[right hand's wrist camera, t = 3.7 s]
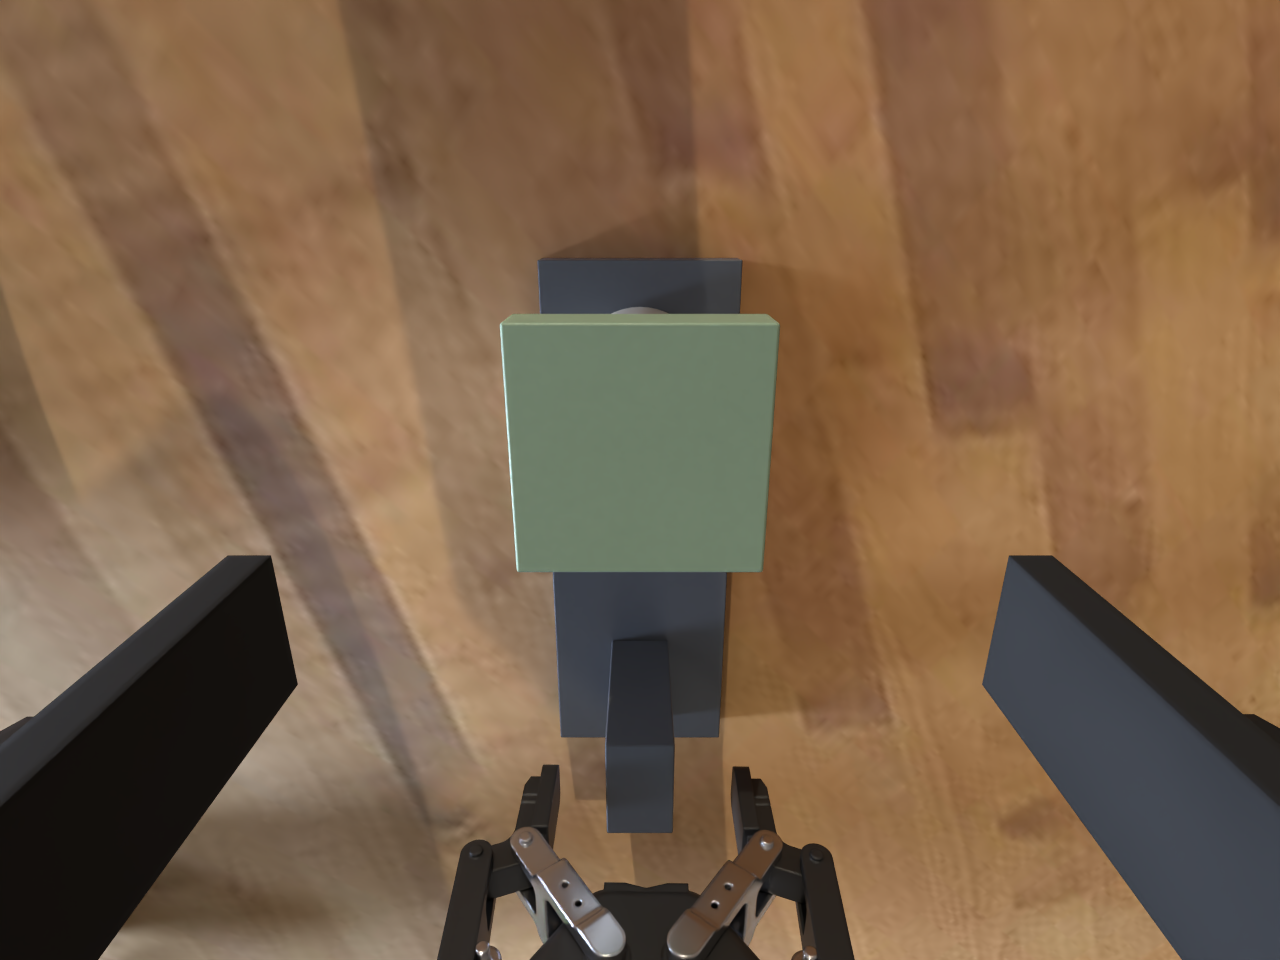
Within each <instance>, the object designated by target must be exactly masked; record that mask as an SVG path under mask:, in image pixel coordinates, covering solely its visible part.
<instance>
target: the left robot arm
mask: <svg viewBox="0 0 1280 960" xmlns="http://www.w3.org/2000/svg"><path fill="white" fill-rule="evenodd" d="M559 804H560V773H559V765H543V767H542V772H541V777H535V776H531V777H530V779H529V780H528V781H527V783H526V784H525V787H524V791H523V796H522V801H521V805H520V810H519V815H518V819H517V824H516V828H515V831H514V833H513V834H512V836H511V837H510V838H509V839H507V840H506V841H504V842H502V843H499V844H495V845H492V846H491V845H490V843H489V842H487V841H485V840H474V841H471V842H469V843H468V844H466V845H465V846H464V847H463V849H462V851H461V854H460V858H459V863H458V867H457V872H456V876H455V881H454V885H453V890H452V895H451V899H450V904H449V908H448V913H447V917H446V922H445V926H444V931H443V935H442V940H441V945H440V949H439V954H438V958H437V960H502V958H501V954H500V952H499V950H498V949H497V948H495V947H493V946H490V945H489V941H490V935H491V928H492V922H493V915H494V909H495V902H496V898H497V897H500V896H504V895H507V894H511V893H514V892H516V894H517V895H518V897H519V898H520V900H521V901H522V903H523V905H524V906H525V908H526V909H527V911H528V912H529V914H530V915H531V917H532V919H533V920H534V922H535V924H536V927H537V930H538V934H539V936H540V939H541V941H542V943H543V945H542V946H541V948H540V949H539V950H538V951H537V952H536V953H535V954H534V955H533V956H532V958H531V959H530V960H759V958H758V957H757V956H756V955H755V954H754V953H753V952H752V950H751V949H750V948H749V947H748V946H749V944H750V942H751V940H752V937H753V934H754V931H755V928H756V926H757V924H758V923H759V921H760V920H761V918H762V917H763V915H764V914H765V912H766V911H767V909H768V907H769V906H770V904H771V903H772V901H773V900H774V898H775V897H776V895H777V896H780V897H783V898H786V899H789V900H792V901H795V902H796V908H797V915H798V922H799V928H800V935H801V942H802V949H803V950H801V951H798V952H796V953H795V954H794V955H793V957H792V959H791V960H855V959H854V955H853V950H852V946H851V941H850V936H849V932H848V927H847V922H846V918H845V913H844V909H843V904H842V899H841V895H840V890H839V885H838V881H837V876H836V871H835V867H834V862H833V858H832V855H831V853H830V852H829V850H828V849H826V848H825V847H824V846H822V845H819V844H807V845H805V846H804V847H803V848H802V849H798V848H795V847H792V846H789V845H787V844H785V843H784V842H783V841H782V840H781V838H780V837H779V836H778V835H777V833H776V829H775V824H774V819H773V815H772V810H771V806H770V800H769V795H768V791H767V787H766V786H765V784H764V783H763V781H762V780H761V779H751V775H750V770H749V767H733V769H732V783H731V807H732V814H733V821H734V828H735V835H736V842H737V849H738V856H737V857H736V859H735V860H734V861H733V862H732V861H730V860H728V861H727V862H726V863H725V864H724V865H723V867H722V868H721V869H720V870H719V872H718V873H717V874H716V876H715V877H714V878H713V880H712V881H711V882H710V883H709V885H708V886H707V887H706V889H705V890H704V891H703V893H702V894H701V895H699V894H697V893H694V892H691V891H689V890H688V884H680V883H667V884H662V885H658V886H653V887H649V888H644V887H640V886H636V885H632V884H628V883H609V882H604V890H600V891H597V892H595V893H593V894H592V893H591V891H590V890H589V889H588V887H587V886H586V885H585V883H584V882H583V881H582V879H581V878H580V877H579V875H578V874H577V873H576V871H575V870H574V869H573V867H572V866H571V865H570V863H569V862H568V861H567V860H566V859H565V858H562V859H559V858H558V856H557V855H556V854H555V852H554V851H553V845H554V838H555V832H556V825H557V818H558V811H559Z"/></svg>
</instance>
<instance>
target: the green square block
mask: <svg viewBox="0 0 1280 960" xmlns="http://www.w3.org/2000/svg"><path fill="white" fill-rule="evenodd" d="M779 334H780V324H779V323H778V322H777V321H776V320H774V319H773V318H772V317H770V316H769V315H768V314H512V315H511V316H509V317H508V318H507V319H506V320H504V321H503V322H502V323H501V324H500V335H501V349H502V364H503V378H504V393H505V407H506V421H507V436H508V450H509V464H510V479H511V493H512V508H513V522H514V536H515V551H516V565H517V571H518V572H762V570H763V563H764V548H765V534H766V520H767V505H768V491H769V477H770V462H771V448H772V434H773V419H774V405H775V391H776V377H777V362H778V348H779Z"/></svg>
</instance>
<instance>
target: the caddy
mask: <svg viewBox="0 0 1280 960" xmlns="http://www.w3.org/2000/svg"><path fill="white" fill-rule="evenodd" d="M741 279H742V260H740V259H738V258H542V259H540V260H538V281H539V301H540V314H740V300H741ZM726 582H727V572H553V586H554V606H555V626H556V647H557V667H558V687H559V708H560V728H561V737H606V740H605V763H606V809H607V832H608V833H672V832H673V798H674V753H675V743H674V737H719V724H720V703H721V683H722V663H723V643H724V623H725V603H726Z"/></svg>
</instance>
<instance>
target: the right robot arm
mask: <svg viewBox="0 0 1280 960" xmlns="http://www.w3.org/2000/svg"><path fill="white" fill-rule="evenodd" d="M297 685H298V683H297V679H296V674H295V669H294V664H293V659H292V655H291V650H290V645H289V640H288V635H287V630H286V626H285V621H284V616H283V611H282V606H281V602H280V597H279V592H278V587H277V582H276V578H275V573H274V568H273V563H272V558H271V556H227V557H226V558H224V559H223V560H222V561H221V562H219V563H218V564H217V565H216V566H215V567H213V568H212V569H211V570H210V571H209V572H207V573H206V574H205V575H204V576H203V577H201V578H200V579H199V580H198V581H197V582H195V583H194V584H193V585H192V586H191V587H189V588H188V589H187V590H186V591H185V592H183V593H182V594H181V595H180V596H179V597H177V598H176V599H175V600H174V601H173V602H171V603H170V604H169V605H168V606H167V607H165V608H164V609H163V610H162V611H161V612H159V613H158V614H157V615H156V616H155V617H153V618H152V619H151V620H150V621H149V622H147V623H146V624H145V625H144V626H143V627H141V628H140V629H139V630H138V631H137V632H135V633H134V634H133V635H132V636H131V637H129V638H128V639H127V640H126V641H125V642H123V643H122V644H121V645H120V646H119V647H117V648H116V649H115V650H114V651H112V652H111V653H110V654H109V655H108V656H106V657H105V658H104V659H103V660H102V661H100V662H99V663H98V664H97V665H96V666H94V667H93V668H92V669H91V670H90V671H88V672H87V673H86V674H85V675H84V676H82V677H81V678H80V679H79V680H78V681H76V682H75V683H74V684H73V685H72V686H70V687H69V688H68V689H67V690H66V691H64V692H63V693H62V694H61V695H60V696H58V697H57V698H56V699H55V700H54V701H52V702H51V703H50V704H49V705H48V706H46V707H45V708H44V709H43V710H42V711H40V712H39V713H38V714H37V715H36V716H34V717H26V718H24V719H22V720H20V721H18V722H16V723H15V724H13V725H11V726H9V727H7V728H6V729H4V730H2V731H0V960H98V959H99V958H100V956H101V955H102V954H103V952H104V951H105V949H106V948H107V947H108V945H109V944H110V943H111V941H112V940H113V938H114V937H115V936H116V934H117V933H118V932H119V930H120V929H121V927H122V926H123V925H124V923H125V922H126V920H127V919H128V918H129V916H130V915H131V914H132V912H133V911H134V909H135V908H136V907H137V905H138V904H139V903H140V901H141V900H142V898H143V897H144V896H145V894H146V893H147V892H148V890H149V889H150V887H151V886H152V885H153V883H154V882H155V881H156V879H157V878H158V876H159V875H160V874H161V872H162V871H163V869H164V868H165V867H166V865H167V864H168V863H169V861H170V860H171V858H172V857H173V856H174V854H175V853H176V852H177V850H178V849H179V847H180V846H181V845H182V843H183V842H184V841H185V839H186V838H187V836H188V835H189V834H190V832H191V831H192V830H193V828H194V827H195V825H196V824H197V823H198V821H199V820H200V818H201V817H202V816H203V814H204V813H205V812H206V810H207V809H208V807H209V806H210V805H211V803H212V802H213V801H214V799H215V798H216V796H217V795H218V794H219V792H220V791H221V790H222V788H223V787H224V785H225V784H226V783H227V781H228V780H229V779H230V777H231V776H232V774H233V773H234V772H235V770H236V769H237V767H238V766H239V765H240V763H241V762H242V761H243V759H244V758H245V756H246V755H247V754H248V752H249V751H250V750H251V748H252V747H253V745H254V744H255V743H256V741H257V740H258V739H259V737H260V736H261V734H262V733H263V732H264V730H265V729H266V728H267V726H268V725H269V723H270V722H271V721H272V719H273V718H274V716H275V715H276V714H277V712H278V711H279V710H280V708H281V707H282V705H283V704H284V703H285V701H286V700H287V699H288V697H289V696H290V694H291V693H292V692H293V690H294V689H295V688H296V686H297ZM982 685H983V686H984V688H985V689H986V690H987V692H988V693H989V694H990V696H991V697H992V699H993V700H994V701H995V703H996V704H997V705H998V707H999V708H1000V710H1001V711H1002V712H1003V714H1004V715H1005V716H1006V718H1007V719H1008V721H1009V722H1010V723H1011V725H1012V726H1013V728H1014V729H1015V730H1016V732H1017V733H1018V734H1019V736H1020V737H1021V739H1022V740H1023V741H1024V743H1025V744H1026V745H1027V747H1028V748H1029V750H1030V751H1031V752H1032V754H1033V755H1034V756H1035V758H1036V759H1037V761H1038V762H1039V763H1040V765H1041V766H1042V767H1043V769H1044V770H1045V772H1046V773H1047V774H1048V776H1049V777H1050V779H1051V780H1052V781H1053V783H1054V784H1055V785H1056V787H1057V788H1058V790H1059V791H1060V792H1061V794H1062V795H1063V796H1064V798H1065V799H1066V801H1067V802H1068V803H1069V805H1070V806H1071V807H1072V809H1073V810H1074V812H1075V813H1076V814H1077V816H1078V817H1079V818H1080V820H1081V821H1082V823H1083V824H1084V825H1085V827H1086V828H1087V830H1088V831H1089V832H1090V834H1091V835H1092V836H1093V838H1094V839H1095V841H1096V842H1097V843H1098V845H1099V846H1100V847H1101V849H1102V850H1103V852H1104V853H1105V854H1106V856H1107V857H1108V858H1109V860H1110V861H1111V863H1112V864H1113V865H1114V867H1115V868H1116V869H1117V871H1118V872H1119V874H1120V875H1121V876H1122V878H1123V879H1124V881H1125V882H1126V883H1127V885H1128V886H1129V887H1130V889H1131V890H1132V892H1133V893H1134V894H1135V896H1136V897H1137V898H1138V900H1139V901H1140V903H1141V904H1142V905H1143V907H1144V908H1145V909H1146V911H1147V912H1148V914H1149V915H1150V916H1151V918H1152V919H1153V920H1154V922H1155V923H1156V925H1157V926H1158V927H1159V929H1160V930H1161V932H1162V933H1163V934H1164V936H1165V937H1166V938H1167V940H1168V941H1169V943H1170V944H1171V945H1172V947H1173V948H1174V949H1175V951H1176V952H1177V954H1178V955H1179V956H1180V958H1181V959H1182V960H1280V728H1278V727H1276V726H1275V725H1273V724H1271V723H1269V722H1267V721H1265V720H1264V719H1262V718H1260V717H1258V716H1256V715H1254V714H1242V713H1241V712H1240V711H1238V710H1237V709H1236V708H1235V707H1234V706H1232V705H1231V704H1230V703H1229V702H1228V701H1226V700H1225V699H1224V698H1223V697H1222V696H1220V695H1219V694H1218V693H1217V692H1216V691H1214V690H1213V689H1212V688H1211V687H1210V686H1208V685H1207V684H1206V683H1205V682H1204V681H1202V680H1201V679H1200V678H1199V677H1198V676H1196V675H1195V674H1194V673H1193V672H1192V671H1190V670H1189V669H1188V668H1187V667H1186V666H1184V665H1183V664H1182V663H1181V662H1180V661H1178V660H1177V659H1176V658H1175V657H1174V656H1172V655H1171V654H1170V653H1169V652H1168V651H1166V650H1165V649H1164V648H1163V647H1161V646H1160V645H1159V644H1158V643H1157V642H1155V641H1154V640H1153V639H1152V638H1151V637H1149V636H1148V635H1147V634H1146V633H1145V632H1143V631H1142V630H1141V629H1140V628H1139V627H1137V626H1136V625H1135V624H1134V623H1133V622H1131V621H1130V620H1129V619H1128V618H1127V617H1125V616H1124V615H1123V614H1122V613H1121V612H1119V611H1118V610H1117V609H1116V608H1115V607H1113V606H1112V605H1111V604H1110V603H1109V602H1107V601H1106V600H1105V599H1104V598H1103V597H1101V596H1100V595H1099V594H1098V593H1097V592H1095V591H1094V590H1093V589H1092V588H1091V587H1089V586H1088V585H1087V584H1086V583H1085V582H1083V581H1082V580H1081V579H1080V578H1079V577H1077V576H1076V575H1075V574H1074V573H1073V572H1071V571H1070V570H1069V569H1068V568H1067V567H1065V566H1064V565H1063V564H1062V563H1061V562H1059V561H1058V560H1057V559H1056V558H1054V557H1053V556H1009V558H1008V563H1007V568H1006V573H1005V578H1004V582H1003V587H1002V592H1001V597H1000V602H999V606H998V611H997V616H996V621H995V626H994V630H993V635H992V640H991V645H990V650H989V655H988V659H987V664H986V669H985V674H984V679H983V683H982Z"/></svg>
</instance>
